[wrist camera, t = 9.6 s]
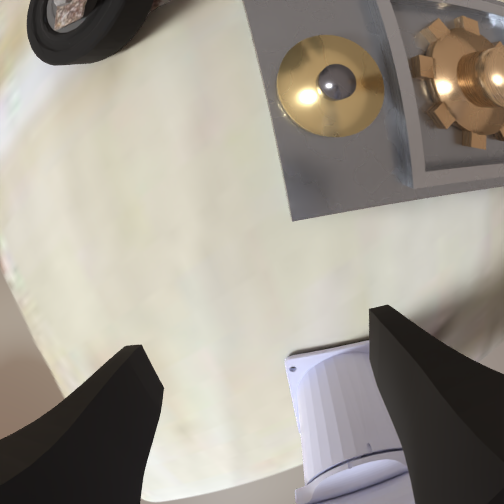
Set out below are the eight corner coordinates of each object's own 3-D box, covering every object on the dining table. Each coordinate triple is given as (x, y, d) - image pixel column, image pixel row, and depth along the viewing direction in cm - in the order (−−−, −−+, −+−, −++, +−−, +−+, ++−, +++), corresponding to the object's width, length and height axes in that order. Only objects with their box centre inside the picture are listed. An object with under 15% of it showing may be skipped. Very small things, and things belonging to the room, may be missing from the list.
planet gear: (511, 155, 14) (558, 167, 10) (413, 138, 14) (459, 145, 10) (505, 40, 11) (549, 32, 7) (404, 5, 11) (442, -23, 7)
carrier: (526, 178, 15) (558, 190, 12) (290, 216, 17) (297, 237, 14) (496, 6, 11) (526, -4, 7) (240, -5, 13) (236, -33, 9)
